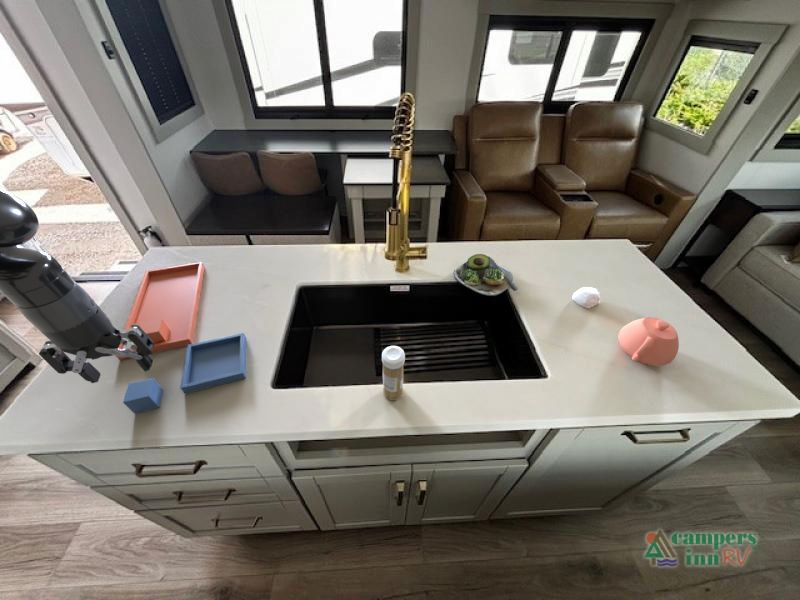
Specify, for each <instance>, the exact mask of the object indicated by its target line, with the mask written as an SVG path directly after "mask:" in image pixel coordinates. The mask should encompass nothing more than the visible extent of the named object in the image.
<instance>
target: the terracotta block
mask: <svg viewBox="0 0 800 600" xmlns="http://www.w3.org/2000/svg"><path fill="white" fill-rule="evenodd" d="M140 327H141V329H142V330H143V331H144V332H145V333H146V334H147V335H148V336H149V338H150V339H151V340H152V341H153V342H154V344H157V343H162V342H167V341H168V339H169V334H170V329H169V328H168V326H167V325H166V323H165V322H164V320H163V319H157V320H152V321H146V322H141V325H140Z"/></svg>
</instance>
